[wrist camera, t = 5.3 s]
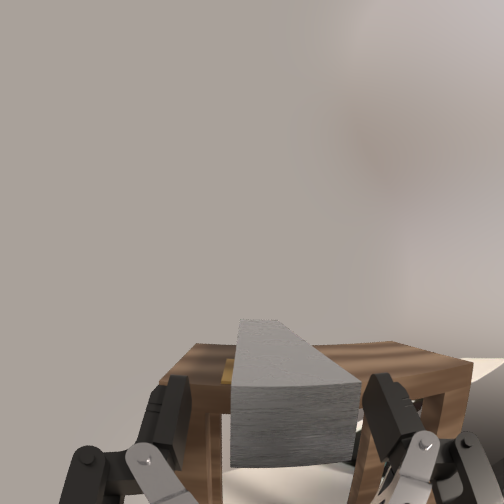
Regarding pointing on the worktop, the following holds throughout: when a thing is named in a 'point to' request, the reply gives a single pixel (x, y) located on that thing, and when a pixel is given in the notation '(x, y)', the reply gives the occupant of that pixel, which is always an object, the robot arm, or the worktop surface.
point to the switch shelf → (362, 367)
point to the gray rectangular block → (289, 401)
